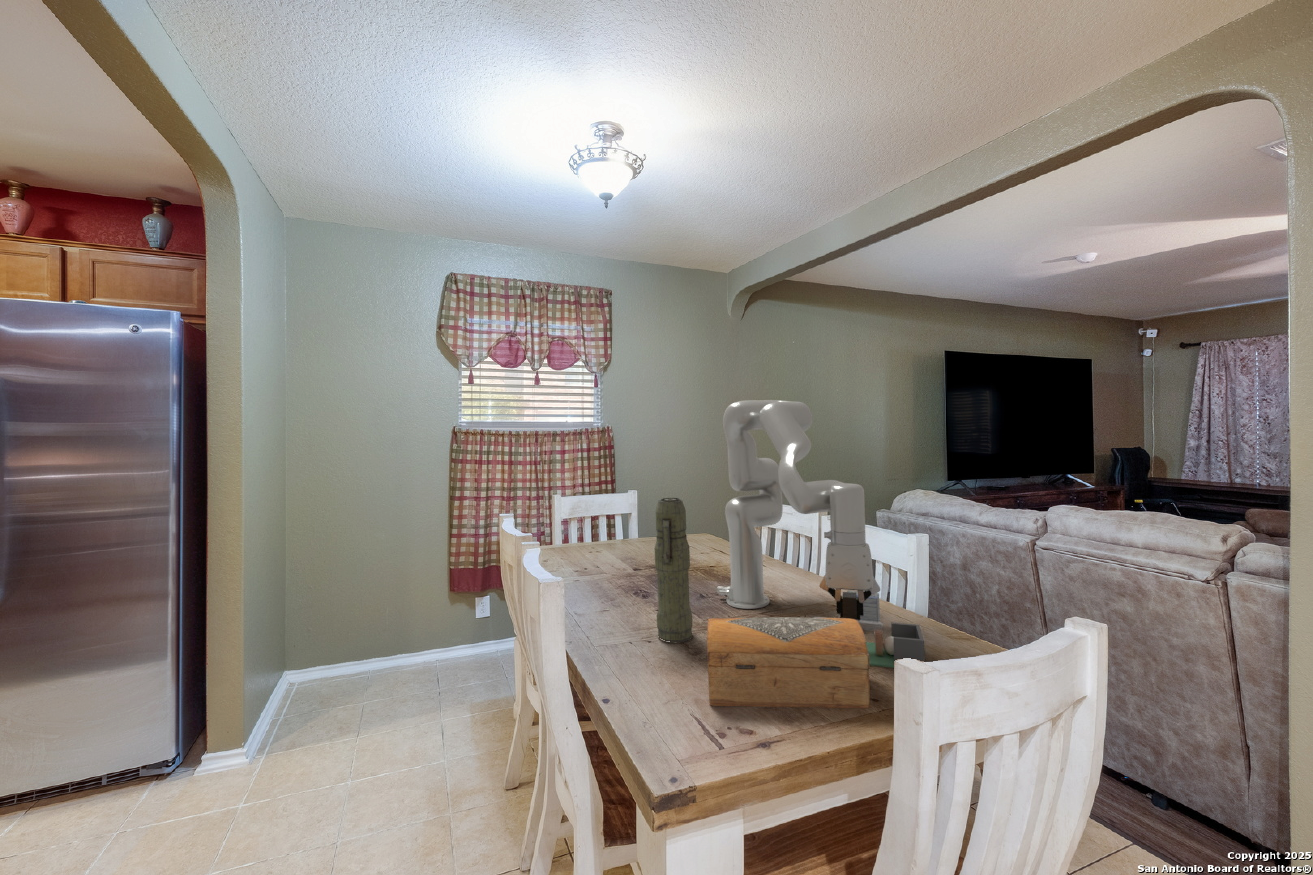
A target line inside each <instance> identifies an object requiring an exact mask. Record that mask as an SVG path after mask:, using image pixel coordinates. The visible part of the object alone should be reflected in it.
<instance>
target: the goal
mask: <svg viewBox="0 0 1313 875" xmlns="http://www.w3.org/2000/svg"><path fill="white" fill-rule="evenodd" d="M890 633H891V634H890V635H891V636H893V639H894V661H895V660H897V659H903V658H911V659H917V660H920V661H924V662H925V663H926V654H925V653H926V650H925V649H926V648H925V638H924V635H923V632H922V628H921V625H920V624H914V623H903V622H901V623H900V622H893V621H892V622H890Z"/></svg>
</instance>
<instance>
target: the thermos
mask: <svg viewBox="0 0 1313 875" xmlns="http://www.w3.org/2000/svg"><path fill="white" fill-rule="evenodd" d="M686 512H687V511H686V507H685V504H684V502H683V500H682V499H680V498H678V497H663V498H661V499H660V500H658V502H657V504H656V509H655V530H656V537H655V538H656V541H655V545H654V568H655V570H656V576H657V603H658V604H657V605H658V610H657V613H656V628H657V637H658V636H659V638H661V639H663V640H665V641H670V642H682V643H685V642H684V641H686V642H688V641H690V640H691V639H693V638H692V637H693V630H692V628H693V613H692V607H691V604H690V585H689V584H690V582H689V577H690V576H689V570H690V567H691V559H690V558H691V557H690V553H691V552H690V551H691V550H690V545H689V542H688V539H687V538H688V537H687V536H688V535H687V532H686V531H687V514H686ZM659 638H658V639H659ZM690 638H691V639H690ZM689 639H690V640H689ZM687 640H688V641H687Z"/></svg>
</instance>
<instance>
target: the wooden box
mask: <svg viewBox="0 0 1313 875" xmlns="http://www.w3.org/2000/svg"><path fill="white" fill-rule="evenodd" d="M866 642H867V641H866V637H865V633H864V630H862V627H861V625H860V624H859V622H858V621H857V620H855V619H849V618H840V617H824V618H814V617H803V616H802V617H799V616H798V617H797V616H792V617H788V616H787V617H786V616H785V617H781V616H780V617H773V616H772V617H771V616H769V617H764V616H763V617H755V616H754V617H736V618H733V617H732V618H731V617H729V618H728V617H725V618H722V617H718V618H716V617H715V618H708V619H707V634H706V643H707V644H706V646H707V649H706V650H707V673H708V674H707V676H708V678H707V679H708V699H709V701H708V702H709V703H708V704H709V706H713V707H719V706H720V707H755V708H757V707H758V708H759V707H760V708H762V707H763V708H769V707H770V708H810V709H811V708H817V709H819V708H821V709H869V708H870V699H871V698H870V697H871V696H870V695H871V694H870V692H871V691H870V690H871V689H870V669H871V665H870V660H869V654H868V650H867V646H866Z"/></svg>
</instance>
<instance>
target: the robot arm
mask: <svg viewBox="0 0 1313 875" xmlns="http://www.w3.org/2000/svg"><path fill="white" fill-rule="evenodd" d="M812 424H813V414H812V411H811V409H810V407H809V406H808V405H807V404H806V403H805V402H802V401H797V400H796V401H793V400H791V401H790V400H778V399H766V400H764V399H762V400H760V399H759V400H755V399H752V400H751V399H750V400H749V399H747V400H739V401H735V402H733V403H731V404H729V405H728V406H727V407H726V409H725V411H724V413H723V417H722V426H723V432H724V436H725V440H726V445H727V463H728V465H727V466H728V469H727V470H728V480H729V486H730V487H731V489H732V490H734V491H736V492H753V491H758V492H759V494H750V495H741V496H737V497H736V496H735V497H733V498H732V499H730V500H729V501H727V503H726V505H725V508H724V516H725V522H726V525H727V530H728V538H729V562H730V585H727V586H723V585H722V586H719V585H718V586H717V587H716V590H717V591H716V592H717V593H718V594H719V595H723V596H724V595H725V596H727V597H726V598H725V599H726V600H725V602H726V604H728V605H729V606H730V607H733V608H736V609H742V610H743V609H745V610H752V609H760V608H765V607H766V606H768V605H770V604H769V603H770V597H769V596H768V595H765V592H764V588H765V587H764V563H763V562H764V561H763V558H764V557H763V556H764V555H763V543H762V542H763V541H762V540H761V537H760V536H759V535H758V533H757V531H756V528H759V527H767V526H773V525H776V524H778V523H779V522H780V521H781V519H782V516H783V510H784V508H783V504H784V503H783V495H784V497H785V498H786V500H787V502H788V503H789V505H790V506H791V508H792V509H794V511H796V512H797V513H799V514H801V515H802V514H803V515H810V514H818V513H827V512H829V514H830V515H829V518H830V520H829V521H830V522H829V523H830V524H829V526H830V530H829V531H827V532H826V531H824V532H823V538H824V539H828V540H829V542H828V543H827V546H826V553H825V573H824V576H823V578H822V579H821V580H820V583H819V586H818V587H819V588H820V589H822V590H823V591H825V592H827V593H829V595H830V596H831V597H833V599H834V600H835V602H836V614H839V618H843V601H842V596H843V595H842V590H846V591H848V590H851V591H858V597H857V620H860V615H861V616H864V615H863V603H864V601H865V600H866V599H867V598H869V597H870V596H871V595H872V594H875V593H879V592H881V586H880V584H878V582H877V580H876V579H875V577H874V571H873V560H872V552H871V547H870V544H868V543H867V541H866V514H865V513H866V508H865V506H866V504H865V490H864V487H863V486H862V485H861V484H858V483H850V482H849V483H848V482H847V483H846V482H842V481H840V480H836V479H825V480H824V479H823V480H814V481H804V480H803V478H802V477H801V475H800V473H799V471H798V469H797V466H796V464H797V463H798V462H800V461H801V460H802V459H804V458H806V456H807V455H809V452H810V451H811V449H812V442H811V440H810V438H809V436H807V434H806V431H808V430H809V429H810V428H811V426H812ZM752 430H753V431H754V430H756V431H757V430H763V431H765V433H766V435H767V436H768V438H769V440H770V442H771V444H772V446H773V447H774V449H775V450H776V452H777V453H778V455H779V457H780V460H779V464H778V463H777V462H776V461H775V460H774V459H773V458H770V457H758V451H757V450H758V447H757V443H756V442H757V441H756V440H755V439H754V436H753V435H752V433H750V431H752Z"/></svg>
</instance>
